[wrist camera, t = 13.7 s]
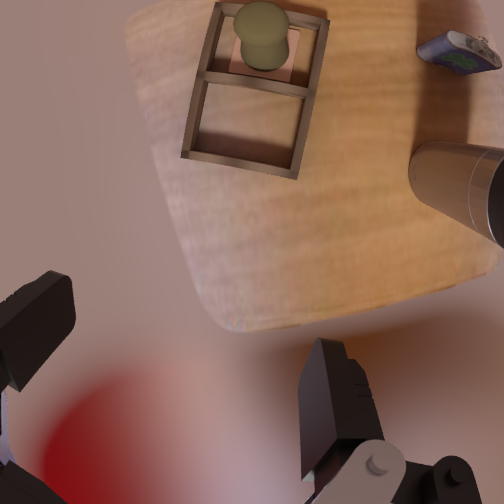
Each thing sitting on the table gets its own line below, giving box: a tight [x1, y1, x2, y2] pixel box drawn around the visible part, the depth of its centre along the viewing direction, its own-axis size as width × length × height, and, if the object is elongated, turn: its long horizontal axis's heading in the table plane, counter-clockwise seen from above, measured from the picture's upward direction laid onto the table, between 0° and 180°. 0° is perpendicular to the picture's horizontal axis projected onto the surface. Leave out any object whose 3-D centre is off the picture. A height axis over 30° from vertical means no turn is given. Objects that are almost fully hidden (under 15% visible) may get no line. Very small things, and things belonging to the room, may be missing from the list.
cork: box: [233, 1, 290, 72], centre depth 25 cm, size 6×6×11 cm
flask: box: [416, 30, 502, 76], centre depth 22 cm, size 9×3×11 cm, turn 86°
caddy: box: [181, 2, 330, 180], centre depth 31 cm, size 14×21×2 cm, turn 169°
